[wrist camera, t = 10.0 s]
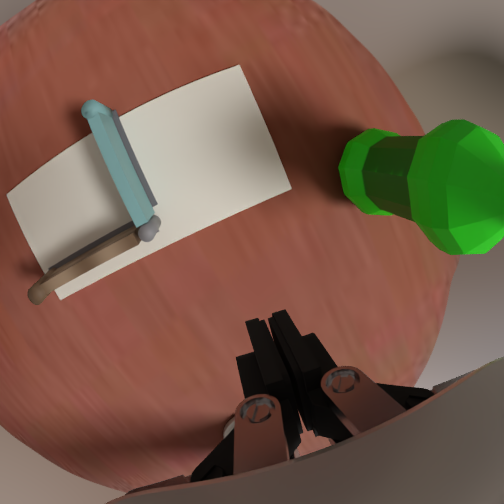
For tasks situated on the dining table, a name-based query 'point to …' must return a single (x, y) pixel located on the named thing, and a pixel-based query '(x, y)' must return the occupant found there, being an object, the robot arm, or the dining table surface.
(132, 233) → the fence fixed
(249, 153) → the card
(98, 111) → the teal bar
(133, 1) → the dining table surface
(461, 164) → the plastic bottle
